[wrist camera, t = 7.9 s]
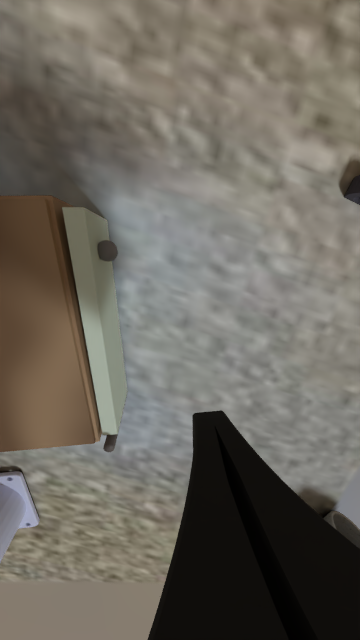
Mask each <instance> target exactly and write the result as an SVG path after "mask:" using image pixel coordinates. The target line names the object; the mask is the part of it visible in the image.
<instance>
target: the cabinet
mask: <svg viewBox="0 0 360 640" xmlns="http://www.w3.org/2000/svg"><path fill="white" fill-rule="evenodd" d="M62 207H73V206H71V205H69V204H67V203H65V202H63V201H61V200H59V199H57V198H55V197H53V196H51V195H50V196H0V452H6V451H17V450H28V449H38V448H49V447H60V446H71V445H81V444H92V443H95V442H98V441H100V437H101V434H102V429H101V423H100V418H99V412H98V406H97V401H96V395H95V390H94V384H93V378H92V373H91V367H90V361H89V356H88V350H87V345H86V339H85V333H84V328H83V322H82V317H81V311H80V305H79V300H78V294H77V288H76V283H75V277H74V272H73V266H72V260H71V255H70V249H69V243H68V238H67V232H66V227H65V221H64V215H63V210H62ZM125 401H126V400H125ZM124 405H125V404H124ZM122 414H123V413H122ZM121 418H122V417H121ZM120 422H121V421H120ZM118 431H119V430H118ZM117 435H118V434H113V435H107V438H106V441H105V444H104V450H105V451H106V452H111V451H113V450H114V448H115V443H116V439H117Z"/></svg>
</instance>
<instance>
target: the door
mask: <svg viewBox="0 0 360 640" xmlns="http://www.w3.org/2000/svg"><path fill="white" fill-rule="evenodd" d="M62 210H63V215H64V221H65V227H66V232H67V238H68V243H69V249H70V255H71V260H72V266H73V272H74V277H75V283H76V288H77V294H78V300H79V305H80V311H81V317H82V322H83V328H84V333H85V339H86V345H87V350H88V356H89V361H90V367H91V373H92V378H93V384H94V390H95V395H96V401H97V406H98V412H99V418H100V423H101V429H102V435H113V434H118V430H119V426H120V421H121V417H122V413H123V409H124V404H125V400H126V396H127V383H126V375H125V366H124V358H123V350H122V341H121V333H120V324H119V316H118V307H117V299H116V291H115V282H114V274H113V265H112V260H114V259H115V258H116V257H117V253H118V251H117V247H116V245H115V244H114V243H113V242H111V241H110V240H109V232H108V223H107V220H106V219H104V218H102V217H100V216H99V215H97V214H95V213H93V212H91V211H90V210H88V209H86V208H84V207H62Z"/></svg>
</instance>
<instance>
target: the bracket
mask: <svg viewBox="0 0 360 640" xmlns="http://www.w3.org/2000/svg"><path fill="white" fill-rule="evenodd" d="M345 198H347V199H349V200H351V201H353V202H355V203H357V204H359V205H360V175H358V176H357V177H355V178H354V179H353V181H352V183H351V185H350V187H349V189H348V191H347V193H346V195H345Z"/></svg>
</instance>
